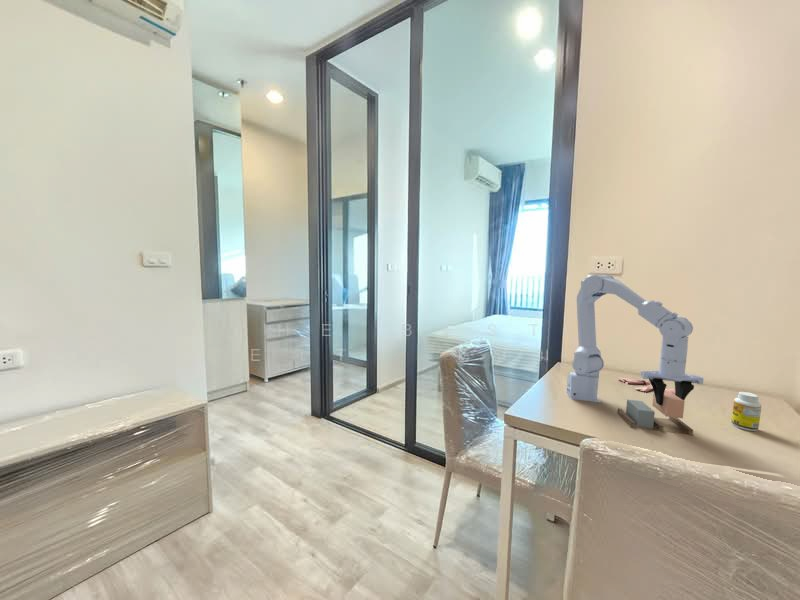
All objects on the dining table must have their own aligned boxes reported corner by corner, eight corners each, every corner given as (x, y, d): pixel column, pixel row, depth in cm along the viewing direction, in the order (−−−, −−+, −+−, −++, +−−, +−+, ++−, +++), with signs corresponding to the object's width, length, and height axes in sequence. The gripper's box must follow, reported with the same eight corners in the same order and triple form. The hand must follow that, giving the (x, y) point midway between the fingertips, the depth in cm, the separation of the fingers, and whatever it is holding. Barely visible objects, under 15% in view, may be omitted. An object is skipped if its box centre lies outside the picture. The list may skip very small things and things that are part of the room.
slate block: (637, 426, 94) (638, 409, 94) (625, 415, 102) (627, 399, 102) (653, 428, 93) (654, 411, 93) (640, 416, 101) (641, 401, 101)
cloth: (690, 398, 121) (691, 392, 121) (630, 396, 121) (631, 390, 121) (649, 380, 141) (650, 374, 141) (598, 378, 142) (599, 373, 141)
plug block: (666, 416, 93) (667, 399, 92) (652, 405, 100) (653, 389, 100) (682, 418, 92) (684, 401, 91) (667, 407, 99) (669, 391, 99)
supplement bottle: (729, 421, 101) (733, 389, 100) (756, 427, 97) (760, 394, 96) (732, 427, 96) (736, 394, 96) (759, 434, 93) (764, 399, 92)
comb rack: (630, 428, 94) (631, 422, 94) (617, 414, 104) (617, 408, 103) (692, 436, 90) (693, 429, 90) (672, 421, 100) (673, 414, 100)
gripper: (650, 360, 92) (646, 406, 93) (712, 365, 88) (707, 413, 90) (639, 354, 99) (635, 397, 100) (696, 359, 95) (691, 404, 96)
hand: (668, 404), depth 95 cm, fingers closed on plug block, 4 cm apart
